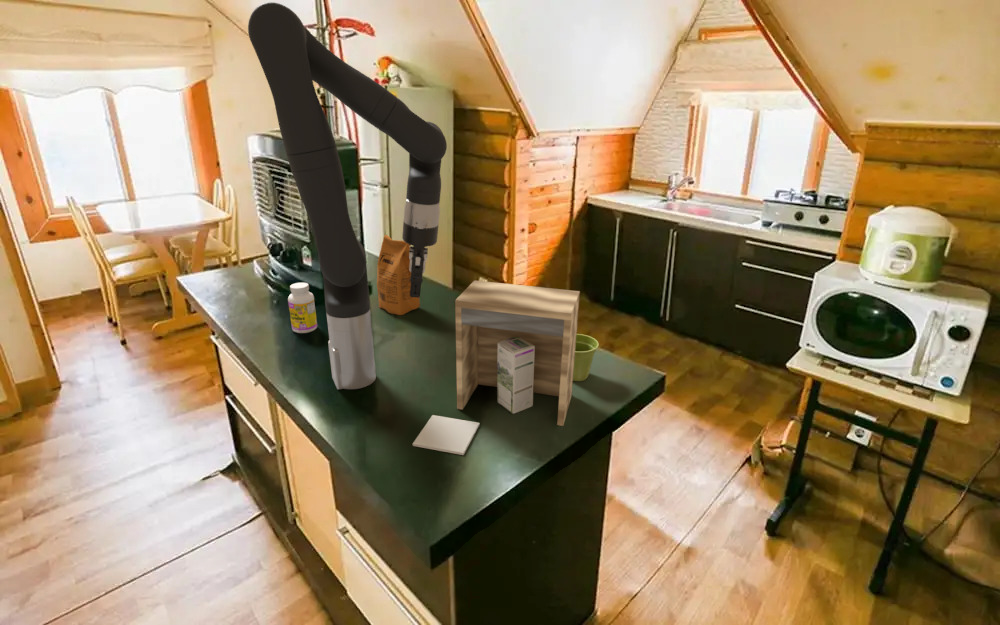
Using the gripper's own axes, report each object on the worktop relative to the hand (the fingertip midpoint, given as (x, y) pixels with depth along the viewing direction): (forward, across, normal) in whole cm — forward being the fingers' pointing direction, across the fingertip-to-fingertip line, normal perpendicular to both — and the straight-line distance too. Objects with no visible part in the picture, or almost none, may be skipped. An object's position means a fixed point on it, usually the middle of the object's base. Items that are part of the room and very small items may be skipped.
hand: (415, 288), depth 123 cm
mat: (+16, +31, +8) cm, 36 cm away
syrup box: (+15, +21, +23) cm, 35 cm away
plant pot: (+14, +10, +39) cm, 43 cm away
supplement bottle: (+26, -21, -29) cm, 44 cm away
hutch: (+15, +20, +23) cm, 34 cm away
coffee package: (+24, -35, -4) cm, 43 cm away
